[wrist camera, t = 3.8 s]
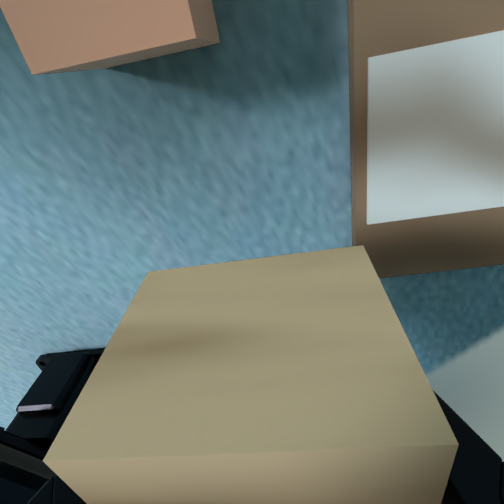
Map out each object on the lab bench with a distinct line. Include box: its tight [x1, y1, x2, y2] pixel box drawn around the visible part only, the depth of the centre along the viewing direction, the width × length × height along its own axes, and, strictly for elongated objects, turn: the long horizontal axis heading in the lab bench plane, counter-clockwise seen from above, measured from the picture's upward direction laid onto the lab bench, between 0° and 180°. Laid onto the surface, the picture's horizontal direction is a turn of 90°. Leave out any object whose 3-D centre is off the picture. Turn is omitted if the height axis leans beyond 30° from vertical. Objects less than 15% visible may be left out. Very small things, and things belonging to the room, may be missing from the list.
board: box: [348, 0, 504, 278], centre depth 14 cm, size 14×8×1 cm, turn 10°
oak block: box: [43, 245, 459, 504], centre depth 8 cm, size 6×6×5 cm
